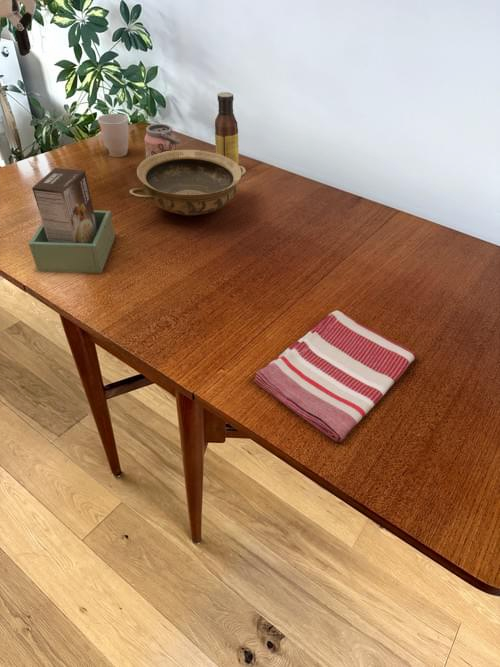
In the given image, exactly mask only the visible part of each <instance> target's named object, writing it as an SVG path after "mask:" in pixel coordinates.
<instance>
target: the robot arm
mask: <svg viewBox="0 0 500 667" xmlns="http://www.w3.org/2000/svg"><path fill="white" fill-rule="evenodd" d="M21 5H23V6H24V8H25V9H24V14H23V15H22V14H21V13H20V12H21ZM36 8H37V2H36V0H0V18H7V19H8V21H9V22H10V23H11V24H12V25H13V26H14V27H15V30H14V34H15V35H14V36H15V40H16V44H17V48H18V51H19V55H20V56H22V57H26V56H27V55H29V54H30V53H31V49H32V47H31V46H32V45H31V42H30V38H29V33H28V28H29V27H30V24H31V23H32V21H33V20H34V18H35V12H36Z"/></svg>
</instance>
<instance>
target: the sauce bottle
mask: <svg viewBox="0 0 500 667" xmlns="http://www.w3.org/2000/svg"><path fill="white" fill-rule="evenodd" d="M234 100H235V98H234V93H232V92H227V91H221V92H218V93H217V102H218V110H217V111H218V114H217V116H216V118H215V119H214V138H215V139H214V141H215V142H214V143H215V153H216V154H219V155H222V156H225V157H227V158H229V159H231V160H232V161H234V162H235V163H236V164H238V165H239V164H240V163H239V162H240V161H239V158H240V157H239V128H238V127H239V126H238V121H237V119H236V117H235V114H234Z"/></svg>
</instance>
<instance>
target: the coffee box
mask: <svg viewBox="0 0 500 667" xmlns="http://www.w3.org/2000/svg"><path fill="white" fill-rule="evenodd" d="M31 189H32V192H33V196H34V199H35V202H36V206H37V209H38V212H39V215H40V218H41V223H42V222H43V226H44V229H45V232H46V235H47V239H48V242H57V243H88V244H92V243H93V241H94V239H95V237H96V234H97V232H98V229H97V224H96V220H95V215H94V210H95V209H94V206H93V202H92V201H93V200H92V197H91V191H90V187H89V183H88V179H87V174H86V170H80V169H72V168H71V169H70V168H60V167H54V168H53V169H52V170H51V171H49V172H48V173H47V174H46V175H45V176H44V177H43V178H41V179H40V180H39V181H38V182H37V183H35V184H34V185H33V186H32V187H31Z"/></svg>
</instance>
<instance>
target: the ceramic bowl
mask: <svg viewBox="0 0 500 667" xmlns="http://www.w3.org/2000/svg"><path fill="white" fill-rule="evenodd" d="M246 173H247V170H246V168H245V167H244V166H242V165H239V164H236V163H235V162H234V161H232V160H231V159H229V158H227V157H225V156H222V155H219V154H216V152H211V151H207V150H199V149H176V150H174V151H166V152H162V153H158V154H155V155H152V156H150V157H148V158H146V157H145V159H143V161H141V162H140V163H139V165H138V166H137V168H136V175H137V178H138V179H139V181H140V182H141V183H142V186H141V187H134V188H131V189H129V191H128V194H129V196H131V197H132V198H133V199H134V198H135V199H138V200H149V201H150V202H151V203H152V204H154V205H155V206H157V208H160V209H162V210H164V211H166V212H168V213H173V214H178V215H180V216H184V217H196V216H200V215H204V214H209V213H212V212H215V211H218V210H220V209H222V208H223V207H225V206H226V205H228V204H229V203H230V202H231V201H232V200H233V198H234V197H235V194H236V191H237V184H238V183H239V181H240V180H241V179H242V178H243V177H245V175H246ZM138 193H142V194H138ZM143 193H144V194H143Z"/></svg>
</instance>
